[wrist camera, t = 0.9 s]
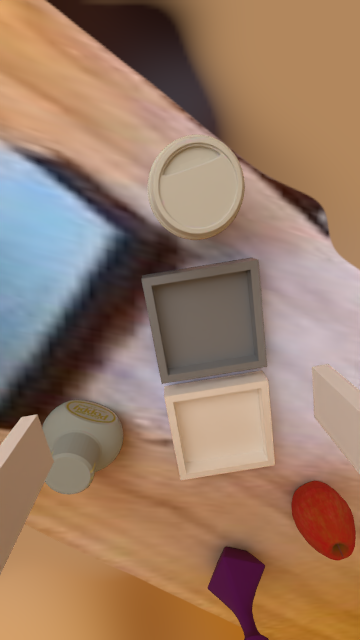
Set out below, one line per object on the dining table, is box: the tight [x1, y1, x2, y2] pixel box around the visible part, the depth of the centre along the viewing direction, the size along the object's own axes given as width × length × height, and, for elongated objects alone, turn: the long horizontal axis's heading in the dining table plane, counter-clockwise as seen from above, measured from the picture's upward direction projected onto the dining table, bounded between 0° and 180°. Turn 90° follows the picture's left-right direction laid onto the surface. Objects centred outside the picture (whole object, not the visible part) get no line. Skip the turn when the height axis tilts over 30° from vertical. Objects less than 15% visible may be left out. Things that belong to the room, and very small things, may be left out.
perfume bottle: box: [208, 547, 268, 640], centre depth 45 cm, size 8×8×18 cm
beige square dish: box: [164, 371, 275, 480], centre depth 44 cm, size 14×14×3 cm
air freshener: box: [42, 400, 123, 494], centre depth 40 cm, size 11×8×10 cm
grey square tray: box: [142, 258, 267, 384], centre depth 40 cm, size 14×14×3 cm
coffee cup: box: [148, 135, 245, 240], centre depth 31 cm, size 8×9×12 cm
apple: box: [291, 481, 356, 560], centre depth 45 cm, size 8×8×11 cm
